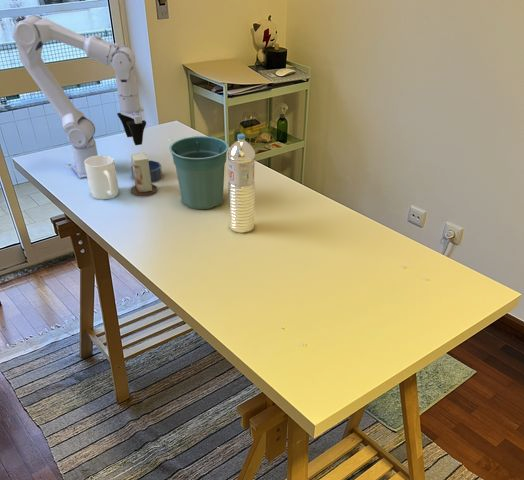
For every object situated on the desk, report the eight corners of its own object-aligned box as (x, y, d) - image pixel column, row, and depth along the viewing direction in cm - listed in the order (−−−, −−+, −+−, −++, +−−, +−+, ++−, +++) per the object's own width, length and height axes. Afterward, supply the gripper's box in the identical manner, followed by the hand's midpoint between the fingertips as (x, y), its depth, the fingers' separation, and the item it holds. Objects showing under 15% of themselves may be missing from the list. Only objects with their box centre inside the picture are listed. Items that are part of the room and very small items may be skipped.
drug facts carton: (134, 186, 165) (130, 153, 159) (149, 184, 166) (144, 151, 160) (138, 193, 162) (133, 160, 155) (152, 191, 163) (148, 158, 156)
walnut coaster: (127, 188, 165) (126, 186, 165) (152, 183, 168) (151, 181, 168) (135, 198, 160) (135, 196, 160) (161, 193, 163) (160, 191, 163)
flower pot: (204, 219, 151) (201, 162, 140) (162, 202, 158) (156, 147, 148) (241, 199, 161) (240, 145, 150) (200, 184, 168) (197, 132, 158)
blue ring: (129, 174, 174) (127, 163, 171) (156, 168, 177) (155, 158, 175) (138, 184, 168) (136, 173, 165) (166, 179, 171) (165, 168, 169)
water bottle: (251, 234, 145) (251, 140, 128) (226, 232, 145) (224, 138, 129) (256, 223, 150) (257, 131, 133) (232, 220, 151) (230, 129, 134)
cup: (113, 185, 167) (107, 153, 160) (128, 200, 159) (123, 167, 152) (87, 191, 163) (80, 158, 156) (101, 207, 156) (94, 173, 149)
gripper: (149, 98, 155) (154, 146, 164) (133, 86, 165) (139, 131, 174) (125, 102, 153) (132, 149, 162) (110, 88, 162) (117, 134, 171)
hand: (134, 140), depth 168 cm, fingers open, 7 cm apart
